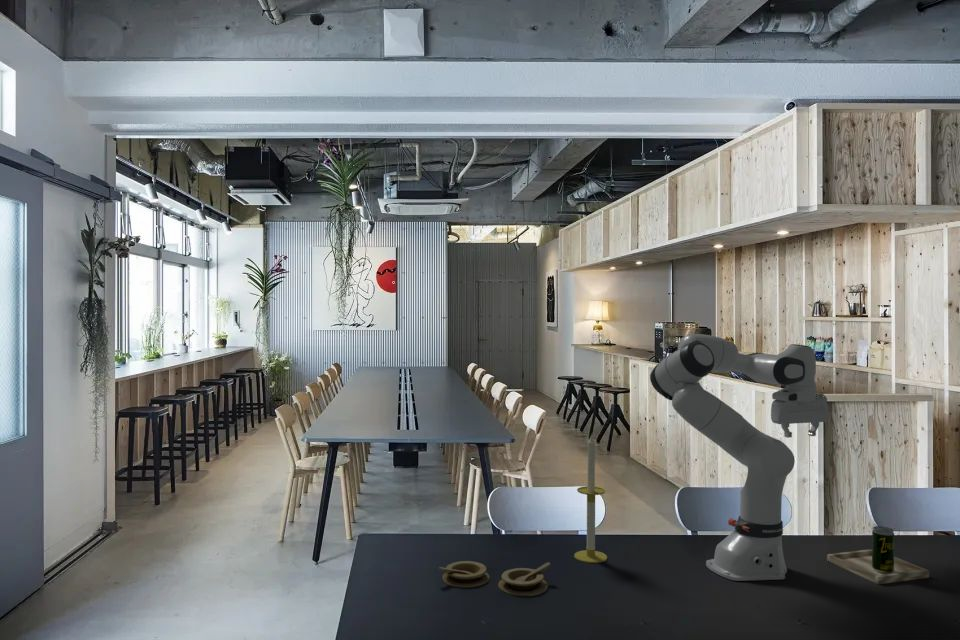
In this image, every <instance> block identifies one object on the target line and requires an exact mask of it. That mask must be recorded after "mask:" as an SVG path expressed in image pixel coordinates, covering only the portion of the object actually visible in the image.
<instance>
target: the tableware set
mask: <svg viewBox="0 0 960 640" xmlns="http://www.w3.org/2000/svg"><path fill="white" fill-rule="evenodd" d="M550 567H551V562H549V561H548V562H545V563H544V564H542V565H540V566H538V567H537V568H536V569H534V568H528V567H527V568H526V567H517V568H512V569H511V568H510V569H508V570H505V571H504V572H503V573H502V574H501V576H500V577H501V580H499V582H498V583H497V586H498V589H499V590H500V591H502V592H503V593H505V594H507V595H511V596H516V597H517V596H518V597H533V596H538V595H541V594H543V593H545V592H546V591H547V590H548V587H549V586H548V585H549V584H548V582H547V581H546V580H545V579H544V573H542V572H544V571H545V570H547V569H549V568H550ZM438 571H440V572H444V573H443V574H442V581H443V582H444V583H445V584H446V585H448V586H452V587H454V588H455V587H456V588H463V589H464V588H466V589H467V588H475V587H476V588H477V587H480V586H483V585H485V584H487V583H489V581H490V575H489V574H488V572H487V566H486V565H485V564H483V563H480V562H477V561H472V560H461V561H455V562H452V563H449V564H448V565H446V567H442V566H439V567H438Z"/></svg>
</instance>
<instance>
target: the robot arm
mask: <svg viewBox="0 0 960 640" xmlns="http://www.w3.org/2000/svg"><path fill="white" fill-rule="evenodd" d="M816 359H817V358H816V354H815V350H814V349H813V347H811V346H810V345H804V344H796V343H795V344H793V343H791V344H789V345H788V347H787V348H785V350H783V351H782V352H780V353H778V354H770V353H762V352H752V353H749V354H744V353H741V352H740V353H739V349H738V347H737V345H736V344H735V343H734V342H732V341H730V340H728V339H725V338H722V337H719V336H715V335H710V334H702V333H689V334H686V335H684V336H683V337H682V338H681V339H680V341H679V343H678V346H677V349H676V350H675V351H674V352H672V353H670V354H668V355H667V356H666V357H664V358H663V359H662V360H661V361H660V362H659V363H657V364H656V365H655V367H653V369H652V370H651V372H650V375H649V379H650V383H651V385H652V388H653V389H654V390H655V391H656V392H657V393H658V394H659V395H660V396H662V397H664V399H667V400H669V401H671V405H672V408H673V409H674V410H675V412H676V413H677V414H678V415H679V416H680V418H682V419H683V420H684V421H685V422H687V423H688V425H690V426H691V427H693V428H694V429H695V430H697V431H698V432H699V433H701V434H702V435H703V436H705V437H706V438H708V439H709V440H711V441H712V442H713V443H715V445H717V446H719V447H720V448H721V449H722V450H723V451H724V452H726V453H727V454H729V455H730V456H731V457H732V458H733V459H735V460H736V461H737V462H739V463H740V464H741V465H743V466H745V467H747V473H746V474H747V475H746V480H745V481H744V485H743V487H741V489H740V493H739V495H740V503H739V504H740V505H739V506H740V507H739V508H740V509H739V511H740V512H739V513H740V515H739V516H738V518H737V520H736V519H734V518H731V517H729V518H728V520H727V524H728V525H729V526H731V527H733V528H734V530H733V531H732V532H730V534H728V535H727V536H726V537H725V538H724V539H722V540H721V541H720V542H719V543H718V544H717V545H716V547H715V550H714V558H711V559H706V561H705V565H706V567H707V568H708V569H709V570H710V571H711V572H713V573H715V574H717V575H718V576H720V577H722V578H725V579H727V580H731V581H734V582H735V581H737V582H741V581H748V582H749V581H769V580H770V581H773V580H777V581H779V580H785V579H786V575H787V573H788V569H787V566H786V562H785V557H784V556H785V555H784V552H783V551H784V550H783V542H782V541H783V539H782V536H783V534H784V525H783V524H784V523H783V521H782V498H783V491H784V486H785V483H786V480H787V477H788V475H790V473H791V472H792V471H793V469H794V466H795V464H796V463H795V462H796V460H795V454H794V453H793V451H792V450H791V448H789V447H788V446H787V445H786V443H784V442H783V441H782V440H780V439H778V438H775V437H772V436H770V435H768V434H767V433H764V432H762V431H761V430H759V429H758V428H757V427H755V426H754V425H753V424H751V423H750V422H749V421H748V420H747V419H745V418H744V417H743V415H742V414H740V413H739V412H738V411H736V410H735V409H733V408H732V407H731V406H729V405H728V404H727V403H726V402H724V401H722V400H721V399H720V398H719V397H717V396H715V395H714V394H713V393H711V392H709V391H708V390H705V388H703V386H702V385H701V383H700V381H701V380H702V379H703V378H704V377H706V376H708V375H709V374H710V373H716V374H729V373H731V372H735V373H739V374H741V375H742V376H743V377H745V378H746V379H747V380H748V381H750V382H753V383H757V384H758V383H759V384H762V383H763V384H769V385H775V386H785V387H783V388H781V389H779V390H776V391H775V392H773V393H772V394H771V397H772V398H771V399H773V401H772V403H771V407H770V419H771V421H772V423H773V424H777V425H780V427H781V428H782V431H783V432H784V434H783V436H784V438H792V437H793V432H792V431H790V429H789V428H790V424H793V425H794V424H807V423H808V424H809V423H810V425H811V427H810V429H808V430H807V431H808V433H807V434H808V436H809V437H816V436H817V430H818V428H819V427H820V423H827V422H828V421H829V420H830V411H829V404H828V397H827V396H826V395H825V394H824V393H816V392H817V389H816V386H817V384H816V381H815V378H816V377H815V376H816V373H817V362H816V361H817V360H816Z"/></svg>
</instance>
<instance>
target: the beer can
mask: <svg viewBox="0 0 960 640" xmlns="http://www.w3.org/2000/svg"><path fill="white" fill-rule="evenodd" d="M872 528H873V529H872V531H871V532H872V534H871V536H872V539H871V549H872V567H873V570H874V571H876V572H879V573H883V574H891V573H893V571H894V557H895V532H894V529H893V528H891V527H887V526H883V525H881V526H880V525H879V526H878V525H875V526H873V527H872Z"/></svg>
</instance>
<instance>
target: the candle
mask: <svg viewBox="0 0 960 640" xmlns="http://www.w3.org/2000/svg"><path fill="white" fill-rule="evenodd" d="M589 438H590V439H589V440H588V441H587V486H580V487H578V488H577V489H576V491H577V492H578V494H582V495H586V549H585V550H584V549H583V550H579V551H576V552H575V553H574V555H573V557H574V559H576V560H577V561H578V562H582V563H587V564H599V563H603V562H605V561H607V560H608V556H607V554H605V553H604V552H602V551H597V550H596V496H601V495H604V494H605V493H606V489H604V488H601V487H598V486H595V485H596V483H595V482H596V442H595V441H594V438H593V435H592V433H591V434H590V437H589Z"/></svg>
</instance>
